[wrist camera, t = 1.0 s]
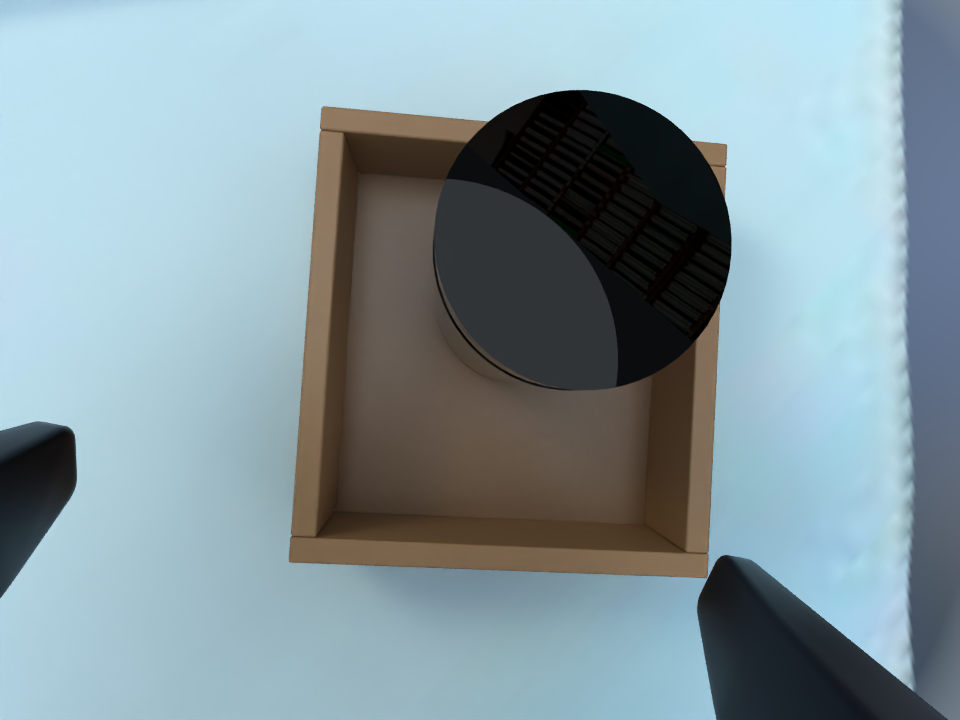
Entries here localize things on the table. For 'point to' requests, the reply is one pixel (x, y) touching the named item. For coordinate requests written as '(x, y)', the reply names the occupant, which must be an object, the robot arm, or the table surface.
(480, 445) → the storage box
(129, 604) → the table surface
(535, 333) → the supplement container
